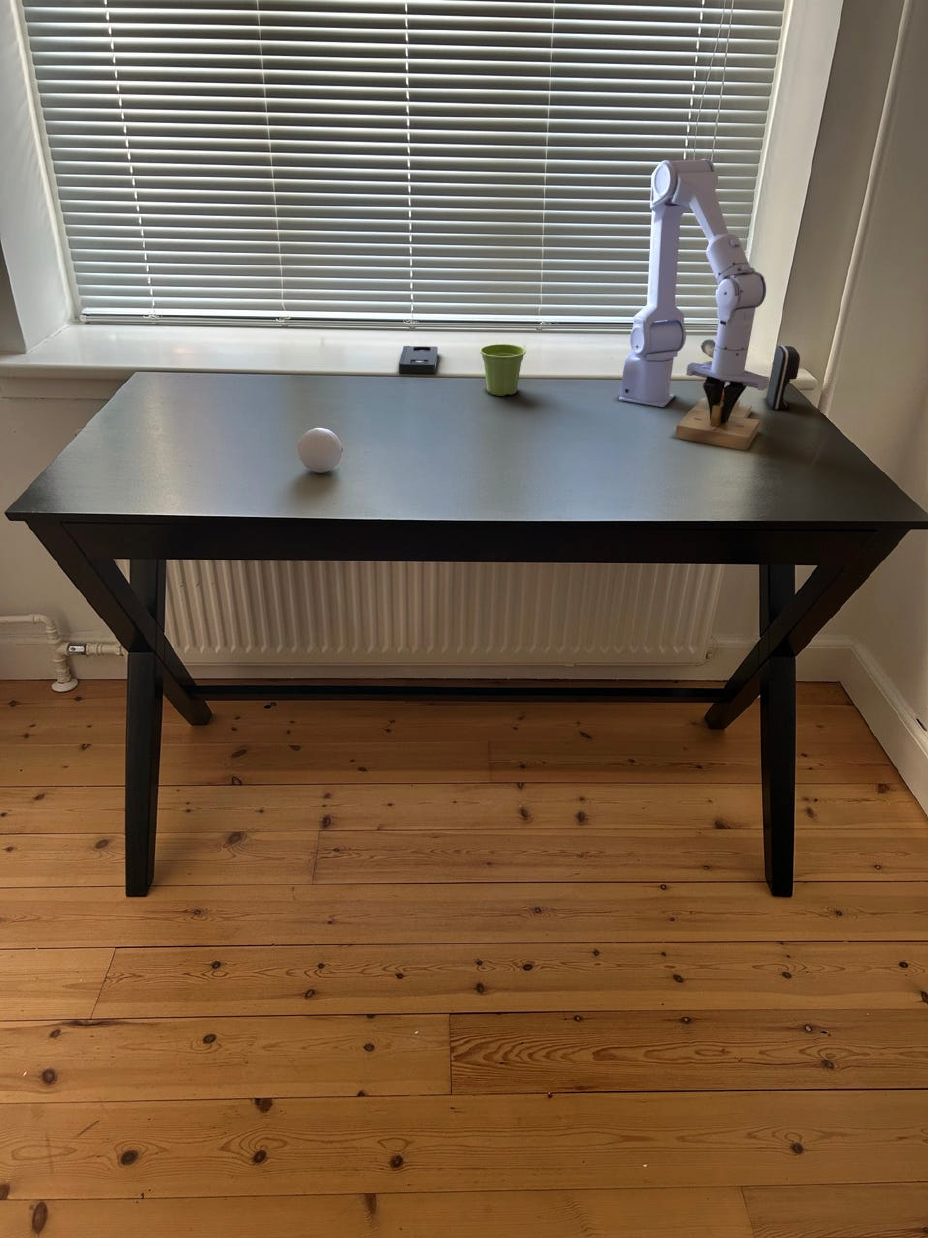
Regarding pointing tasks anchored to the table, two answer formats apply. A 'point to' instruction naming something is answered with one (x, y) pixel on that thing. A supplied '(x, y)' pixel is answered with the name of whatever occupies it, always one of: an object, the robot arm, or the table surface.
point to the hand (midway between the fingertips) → (719, 420)
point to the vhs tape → (418, 359)
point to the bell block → (737, 410)
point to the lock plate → (717, 430)
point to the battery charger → (782, 375)
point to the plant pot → (502, 367)
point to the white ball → (319, 450)
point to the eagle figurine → (708, 349)
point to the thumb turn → (717, 414)
